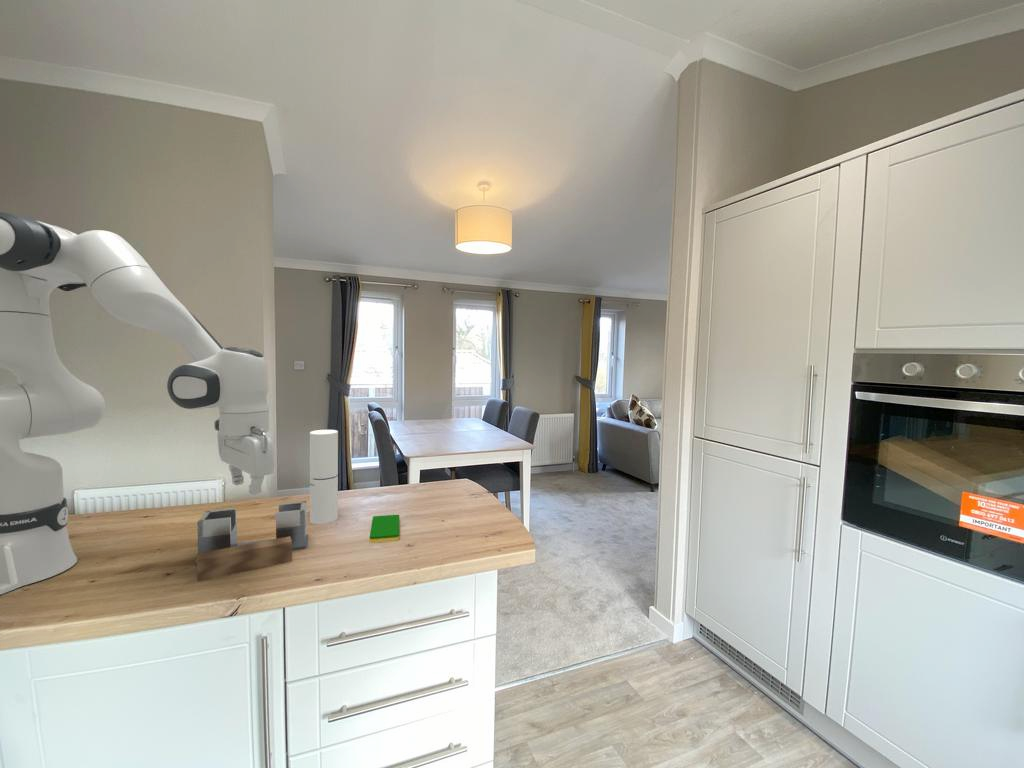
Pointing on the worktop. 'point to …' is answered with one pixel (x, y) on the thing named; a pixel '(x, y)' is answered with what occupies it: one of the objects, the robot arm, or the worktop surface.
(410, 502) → the worktop surface
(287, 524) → the bracket stand
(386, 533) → the dish sponge
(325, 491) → the cylindrical container
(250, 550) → the rail
